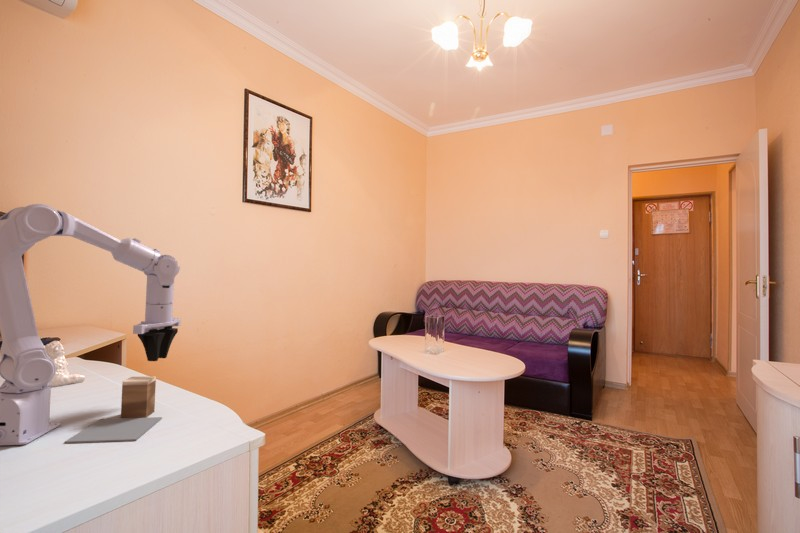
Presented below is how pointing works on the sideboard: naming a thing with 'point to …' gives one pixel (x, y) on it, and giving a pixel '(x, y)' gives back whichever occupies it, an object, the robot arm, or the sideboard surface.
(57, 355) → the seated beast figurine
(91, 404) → the sideboard surface
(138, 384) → the walnut block
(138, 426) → the slate rubber mat
